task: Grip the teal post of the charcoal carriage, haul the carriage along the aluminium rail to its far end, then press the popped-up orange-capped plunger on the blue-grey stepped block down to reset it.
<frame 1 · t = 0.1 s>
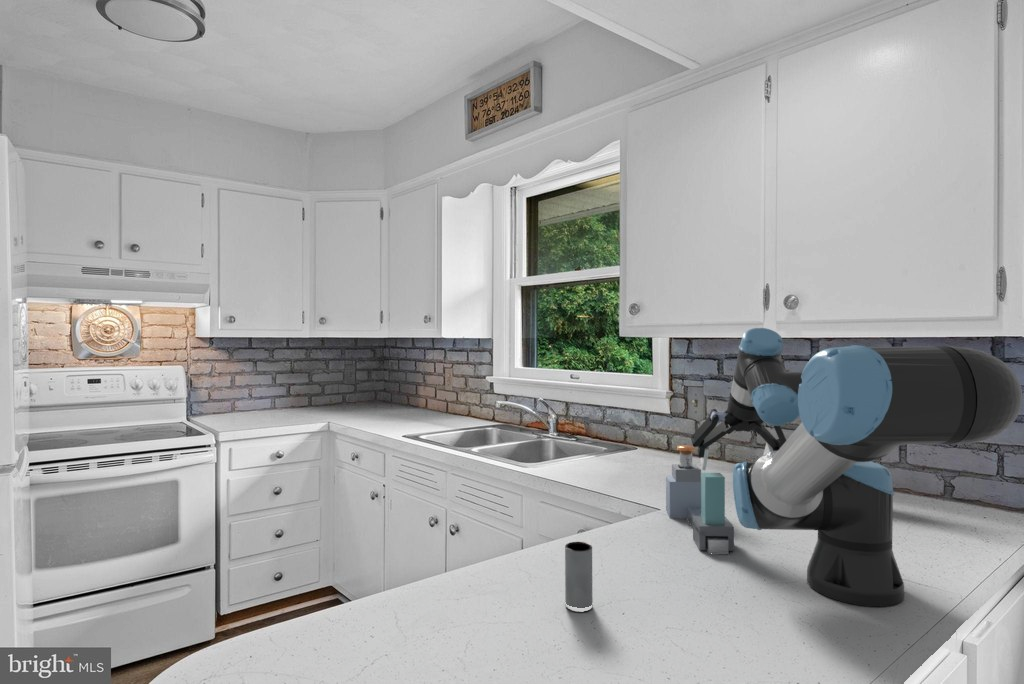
hand: (733, 466, 138), 15 cm above the countertop, tool tilted 35°, fingers open, 13 cm apart
rail: (706, 535, 137), on the countertop
wine bottle: (836, 503, 162), on the countertop
plunger: (686, 462, 152), point 13 cm above the countertop, slide at 0.0 cm
blue-grey stepped block: (686, 514, 153), on the countertop
gray cylinder: (578, 608, 103), on the countertop
carriage: (712, 509, 131), point 8 cm above the countertop, slide at 0.0 cm
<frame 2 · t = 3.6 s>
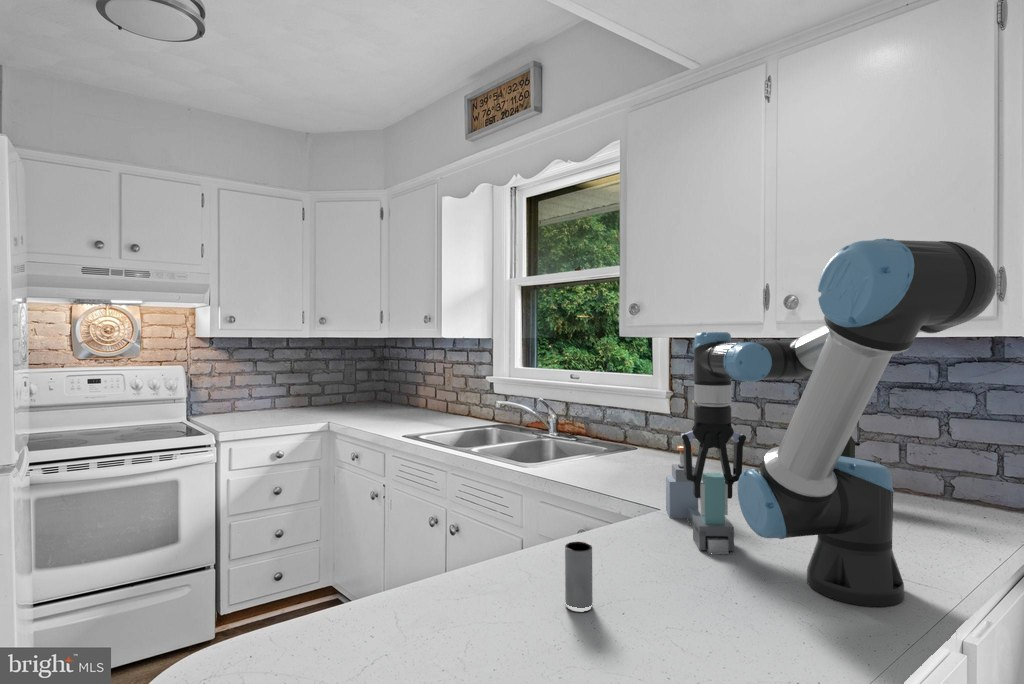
hand: (712, 512, 131), 7 cm above the countertop, tool pointing down, fingers closed on carriage, 4 cm apart
carriage: (712, 509, 131), point 8 cm above the countertop, slide at 0.0 cm, touching gripper
everything else where it was.
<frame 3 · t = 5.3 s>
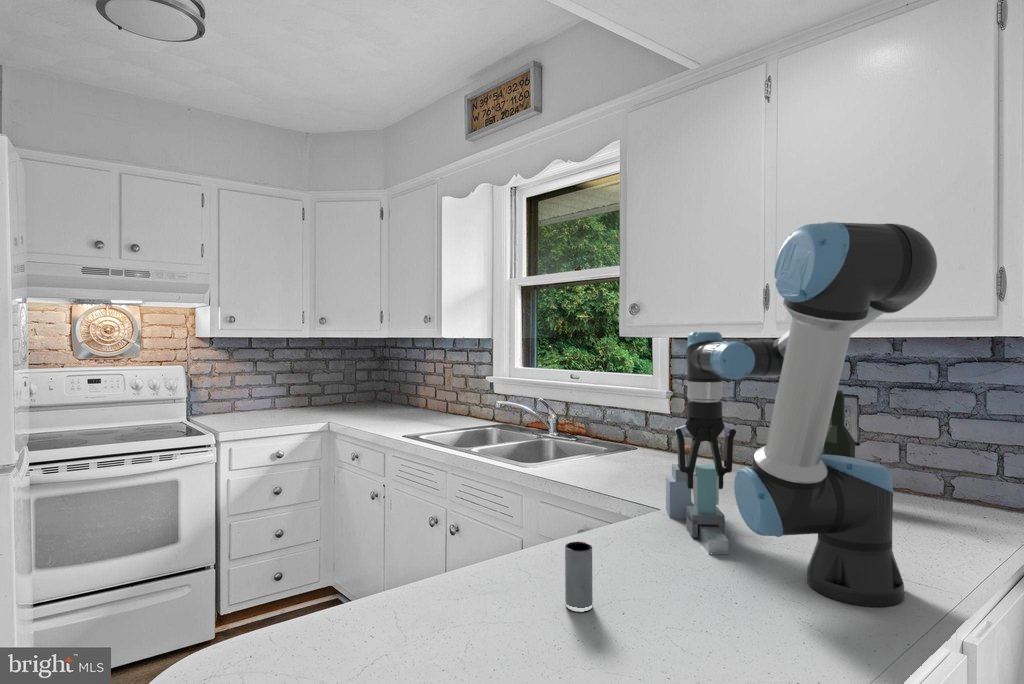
hand: (704, 502, 138), 7 cm above the countertop, tool pointing down, fingers closed on carriage, 4 cm apart
carriage: (704, 499, 138), point 8 cm above the countertop, slide at 7.7 cm, touching gripper
everything else where it was.
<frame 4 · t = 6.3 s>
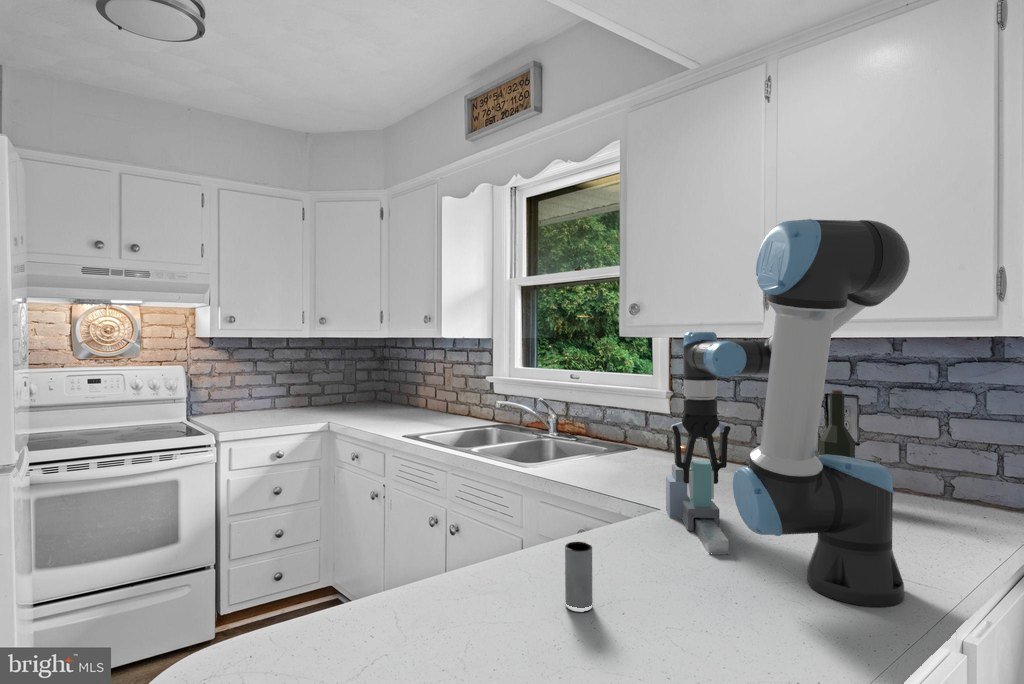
hand: (700, 496, 143), 7 cm above the countertop, tool pointing down, fingers closed on carriage, 4 cm apart
carriage: (700, 494, 143), point 8 cm above the countertop, slide at 12.4 cm, touching gripper
everything else where it was.
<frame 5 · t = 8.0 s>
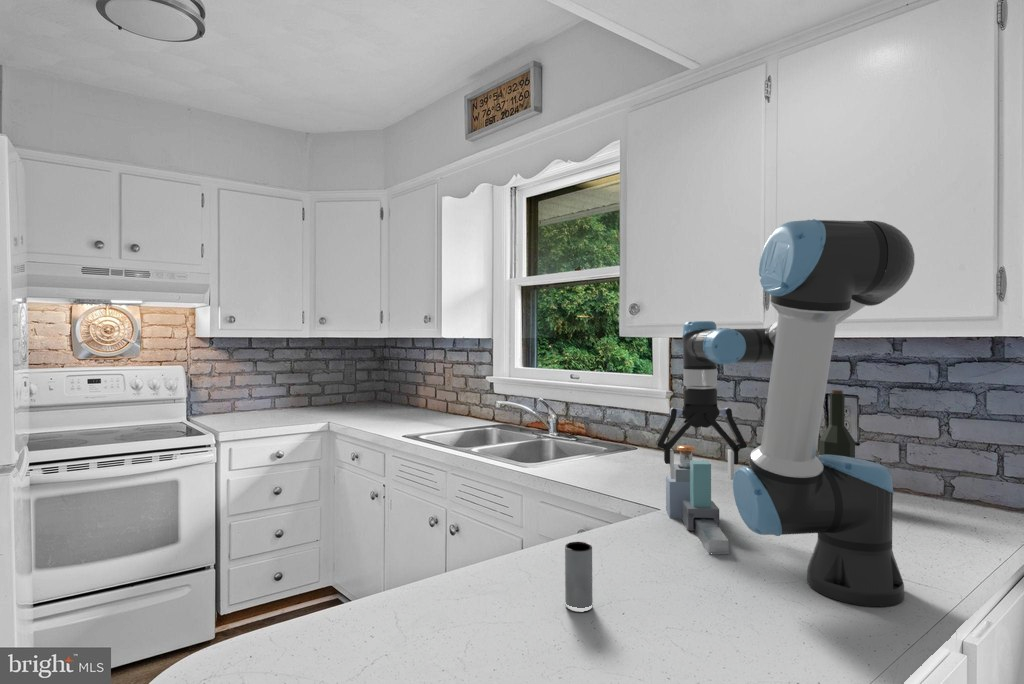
hand: (701, 478, 143), 12 cm above the countertop, tool pointing down, fingers open, 13 cm apart
carriage: (700, 494, 143), point 8 cm above the countertop, slide at 12.5 cm
everything else where it was.
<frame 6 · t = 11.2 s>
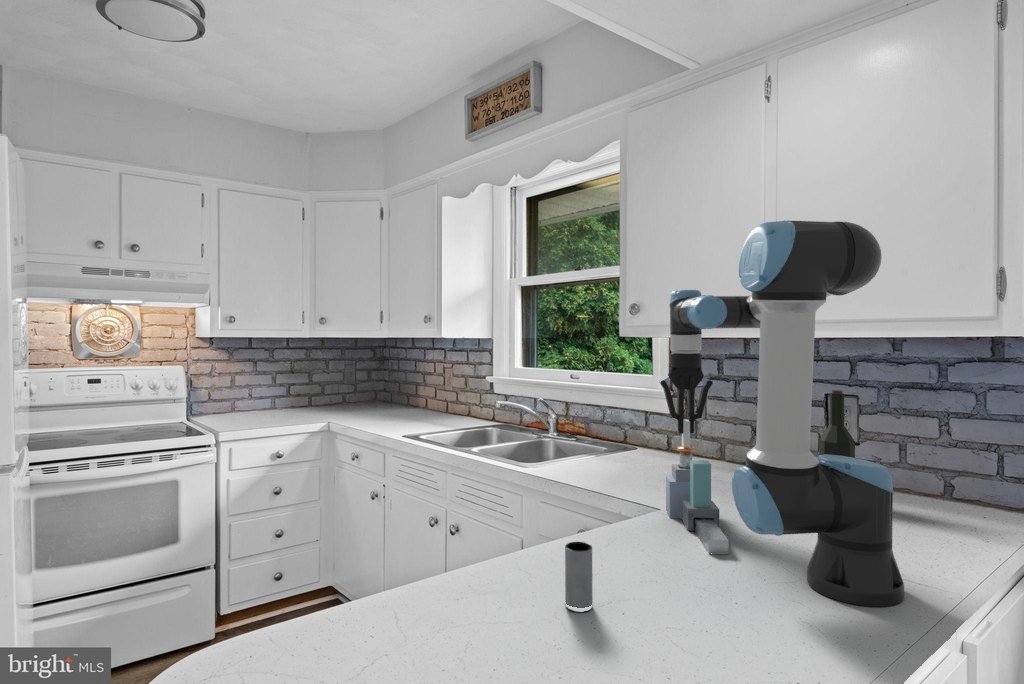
hand: (685, 446, 153), 17 cm above the countertop, tool pointing down, fingers closed
plunger: (686, 463, 152), point 13 cm above the countertop, slide at 0.2 cm, touching gripper
everything else where it was.
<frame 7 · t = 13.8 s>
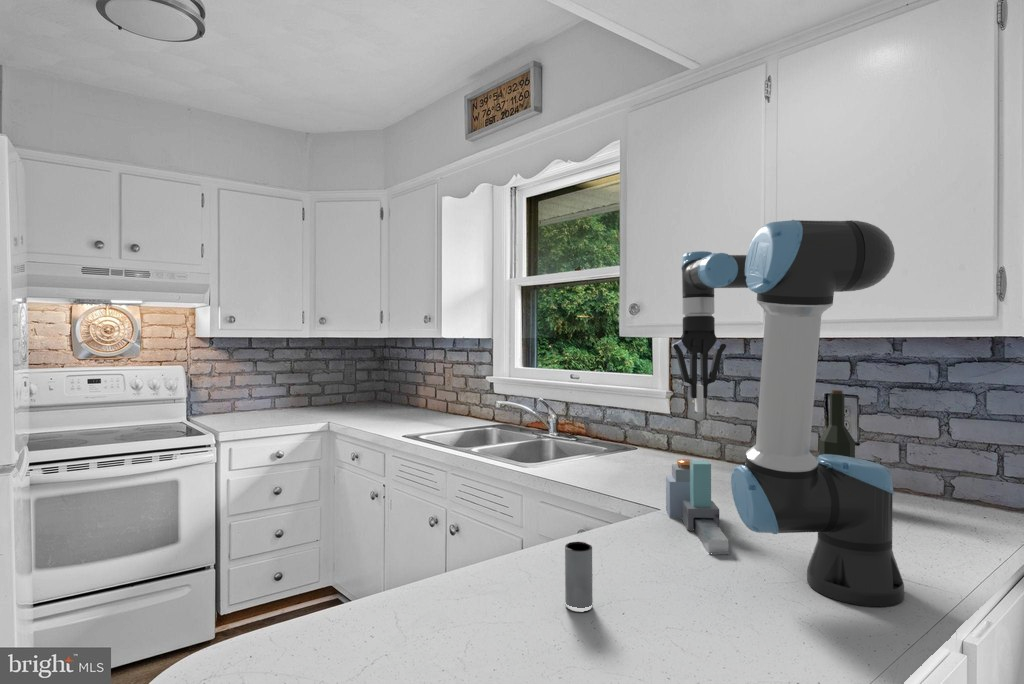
hand: (699, 411, 150), 26 cm above the countertop, tool pointing down, fingers closed
plunger: (686, 476, 153), point 10 cm above the countertop, slide at 3.6 cm
everything else where it was.
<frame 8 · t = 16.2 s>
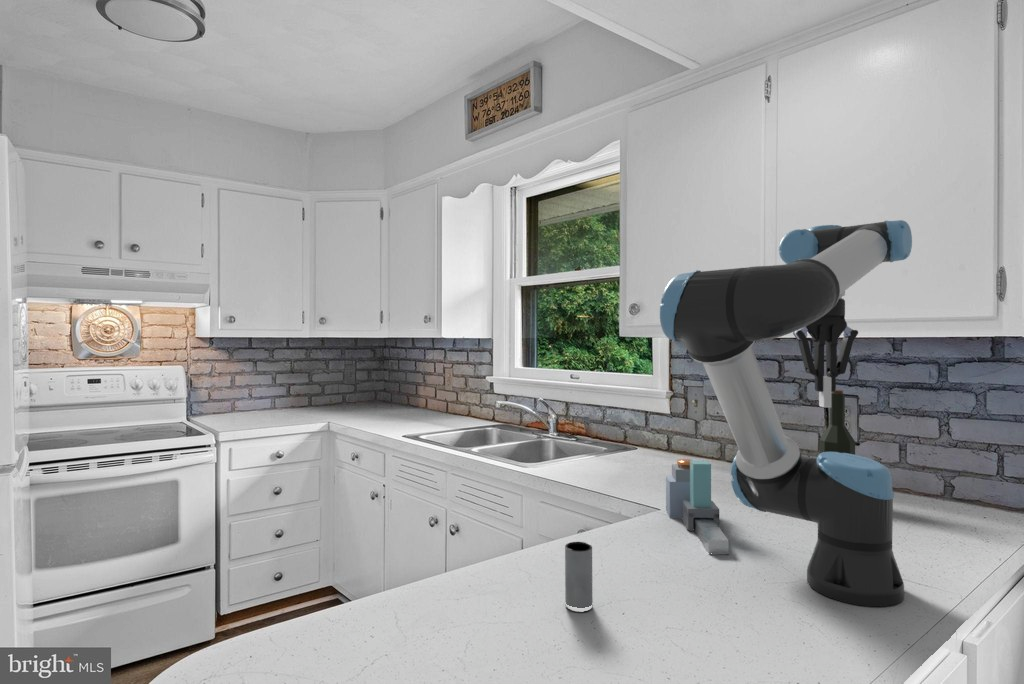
hand: (825, 406, 133), 29 cm above the countertop, tool pointing down, fingers closed
nothing on the countertop moved.
at the end: carriage slide at 12.5 cm; plunger slide at 3.6 cm; the gripper is holding nothing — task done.
